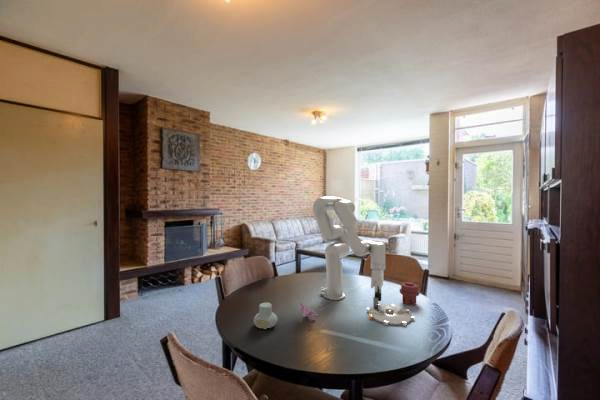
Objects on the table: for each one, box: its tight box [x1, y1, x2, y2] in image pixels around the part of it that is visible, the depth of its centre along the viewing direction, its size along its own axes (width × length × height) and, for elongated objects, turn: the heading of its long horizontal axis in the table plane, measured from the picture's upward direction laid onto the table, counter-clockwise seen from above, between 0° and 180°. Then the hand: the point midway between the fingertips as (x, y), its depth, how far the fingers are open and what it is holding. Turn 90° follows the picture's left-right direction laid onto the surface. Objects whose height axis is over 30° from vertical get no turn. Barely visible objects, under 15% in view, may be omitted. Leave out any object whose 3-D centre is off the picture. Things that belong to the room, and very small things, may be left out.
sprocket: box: [366, 296, 415, 327], centre depth 135 cm, size 22×22×6 cm
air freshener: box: [253, 302, 278, 330], centre depth 127 cm, size 11×8×10 cm
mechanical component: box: [399, 281, 420, 306], centre depth 151 cm, size 12×10×10 cm
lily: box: [296, 300, 319, 323], centre depth 132 cm, size 12×12×10 cm
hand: (377, 300), depth 146 cm, fingers closed
